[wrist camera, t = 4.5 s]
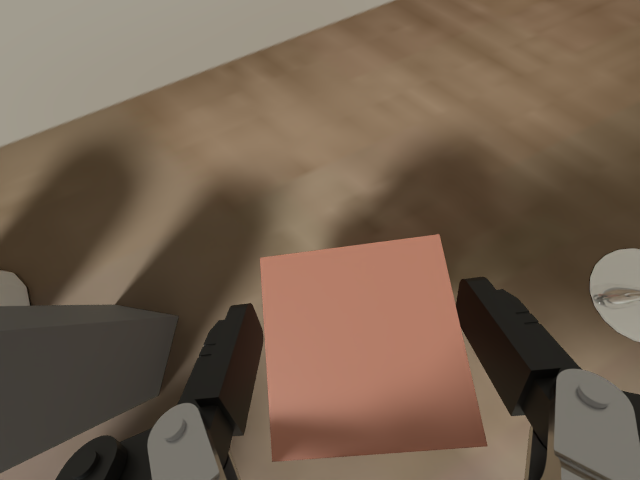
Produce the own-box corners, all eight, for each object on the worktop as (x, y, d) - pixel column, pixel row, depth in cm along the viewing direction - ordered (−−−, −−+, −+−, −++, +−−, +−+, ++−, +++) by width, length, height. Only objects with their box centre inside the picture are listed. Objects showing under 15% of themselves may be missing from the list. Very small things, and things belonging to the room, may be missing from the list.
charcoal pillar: (91, 380, 16) (-253, 485, 7) (114, 304, 17) (-161, 308, 8) (158, 395, 15) (-120, 532, 6) (178, 315, 16) (-38, 334, 7)
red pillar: (319, 362, 15) (271, 461, 6) (310, 282, 16) (259, 257, 7) (400, 354, 15) (487, 446, 5) (386, 273, 16) (439, 234, 6)
